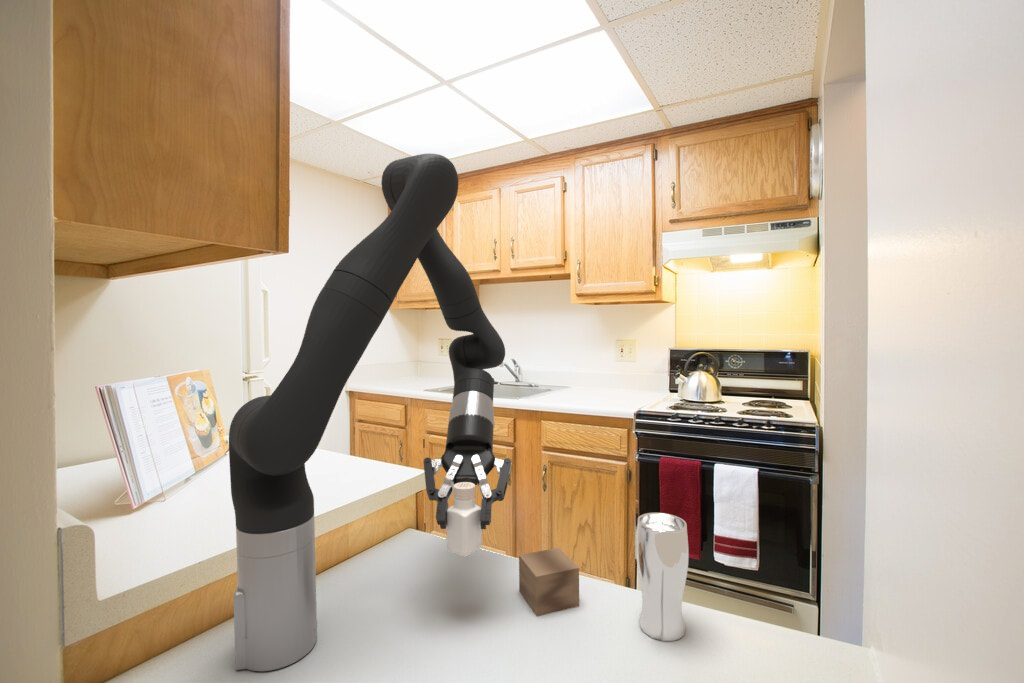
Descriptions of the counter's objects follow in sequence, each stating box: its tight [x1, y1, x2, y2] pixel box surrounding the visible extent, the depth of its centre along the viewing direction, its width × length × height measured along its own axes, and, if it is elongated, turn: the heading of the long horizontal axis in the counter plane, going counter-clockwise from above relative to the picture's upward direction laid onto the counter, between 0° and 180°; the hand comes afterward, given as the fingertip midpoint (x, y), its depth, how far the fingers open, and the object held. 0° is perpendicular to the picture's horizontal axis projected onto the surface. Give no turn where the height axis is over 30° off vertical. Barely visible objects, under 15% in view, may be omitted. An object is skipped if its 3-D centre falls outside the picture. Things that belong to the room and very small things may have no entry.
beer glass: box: [635, 512, 690, 642], centre depth 66 cm, size 7×7×15 cm
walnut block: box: [518, 547, 580, 617], centre depth 74 cm, size 7×7×6 cm
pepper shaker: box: [446, 482, 483, 557], centre depth 69 cm, size 4×4×10 cm
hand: (463, 526), depth 67 cm, fingers closed on pepper shaker, 5 cm apart
